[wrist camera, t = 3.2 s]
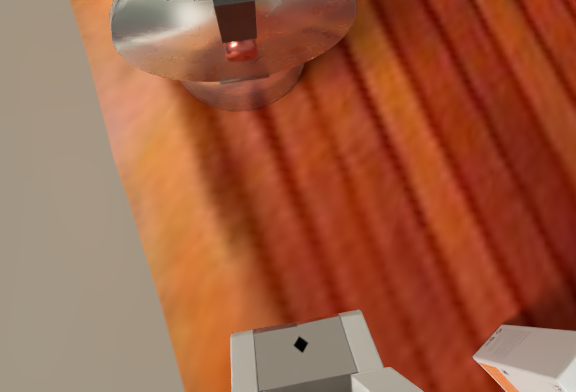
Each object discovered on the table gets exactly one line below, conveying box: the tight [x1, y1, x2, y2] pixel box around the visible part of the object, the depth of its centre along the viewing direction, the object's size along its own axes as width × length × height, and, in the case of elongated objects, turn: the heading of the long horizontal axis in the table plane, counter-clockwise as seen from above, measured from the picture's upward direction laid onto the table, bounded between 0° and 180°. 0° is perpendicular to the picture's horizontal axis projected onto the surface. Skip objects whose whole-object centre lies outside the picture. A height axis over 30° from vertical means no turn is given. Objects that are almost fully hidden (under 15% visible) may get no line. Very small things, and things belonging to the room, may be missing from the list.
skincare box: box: [473, 324, 576, 392], centre depth 32 cm, size 6×4×12 cm
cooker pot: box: [180, 63, 305, 111], centre depth 41 cm, size 20×14×9 cm
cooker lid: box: [109, 0, 357, 85], centre depth 28 cm, size 15×16×2 cm
